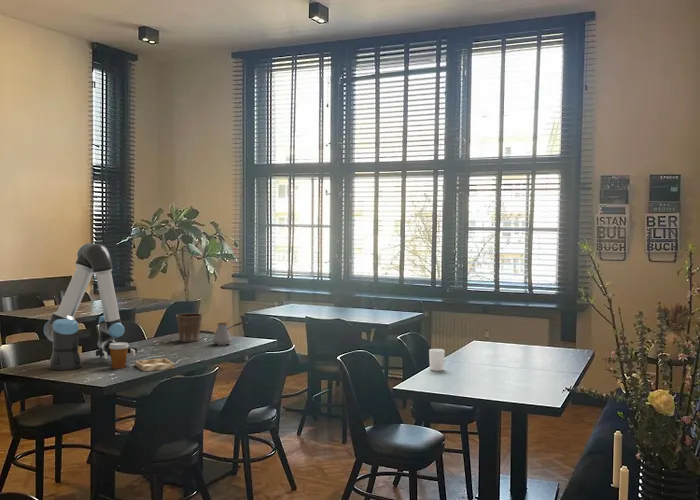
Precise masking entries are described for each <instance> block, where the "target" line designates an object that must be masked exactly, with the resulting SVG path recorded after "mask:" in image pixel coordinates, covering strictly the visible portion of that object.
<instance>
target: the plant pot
mask: <svg viewBox="0 0 700 500" xmlns="http://www.w3.org/2000/svg"><path fill="white" fill-rule="evenodd" d="M175 317H176V322H177V329H178V340H179V342H183V343H191V342H193V343H196V342H198V341H200V335H201V324H202V321H203V320H202V319H203V317H204V316H203V314H202V313H193V312H192V313H191V312H190V313H187V312H186V313H180V314H176V315H175Z"/></svg>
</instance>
